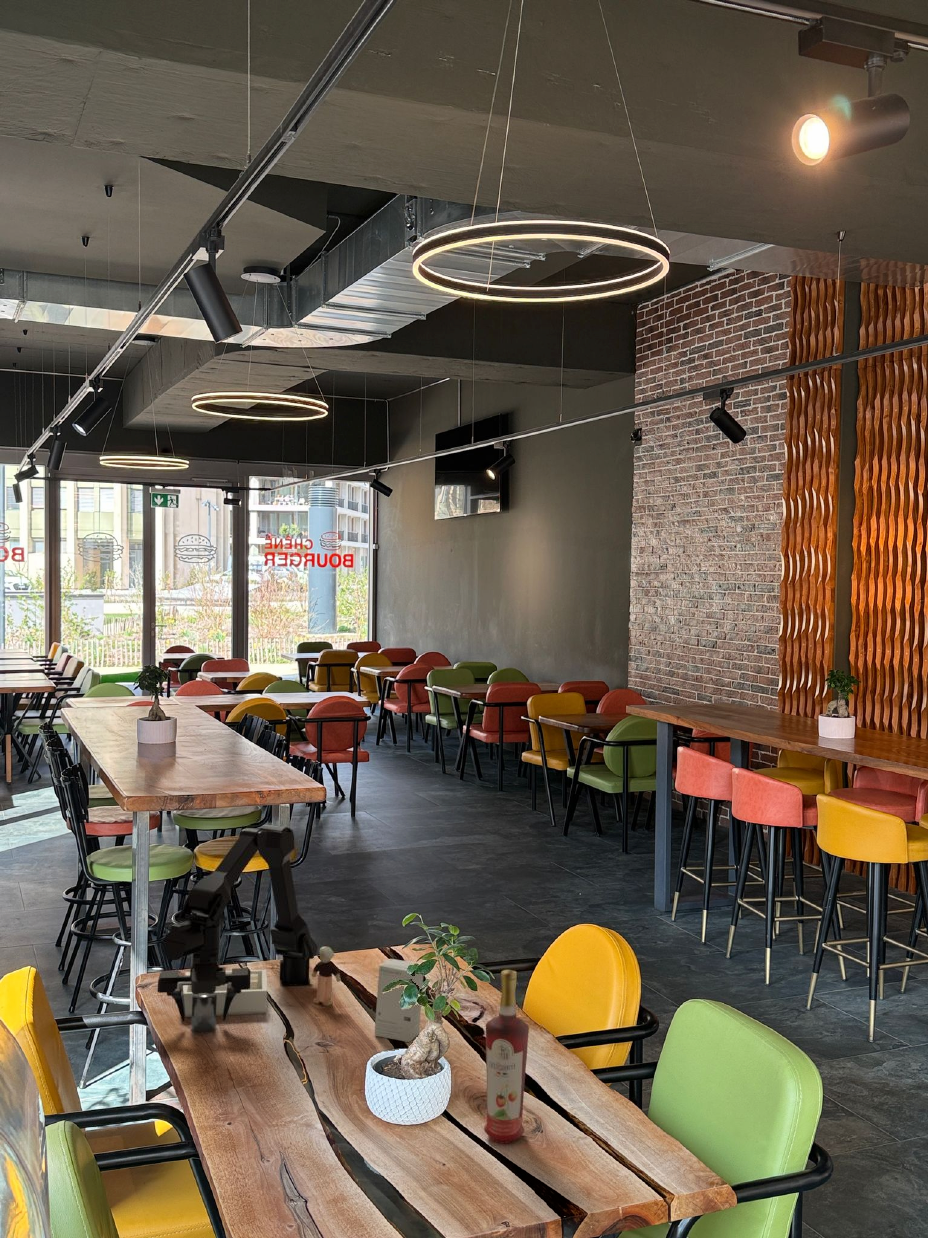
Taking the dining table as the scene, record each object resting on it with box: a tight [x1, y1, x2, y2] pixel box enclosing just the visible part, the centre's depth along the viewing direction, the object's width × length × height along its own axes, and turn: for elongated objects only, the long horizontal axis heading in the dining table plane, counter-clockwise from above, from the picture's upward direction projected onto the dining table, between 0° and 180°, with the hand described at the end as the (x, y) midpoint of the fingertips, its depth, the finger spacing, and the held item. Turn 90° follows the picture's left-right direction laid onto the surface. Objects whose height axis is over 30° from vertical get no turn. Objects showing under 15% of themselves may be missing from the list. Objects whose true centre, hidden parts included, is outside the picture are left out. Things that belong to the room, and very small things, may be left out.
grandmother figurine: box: [311, 946, 342, 1006], centre depth 245 cm, size 8×4×13 cm, turn 73°
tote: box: [183, 969, 268, 1018], centre depth 242 cm, size 18×14×5 cm
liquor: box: [483, 969, 530, 1144], centre depth 185 cm, size 7×7×28 cm
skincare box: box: [374, 958, 424, 1043], centre depth 228 cm, size 8×6×15 cm
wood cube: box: [248, 974, 258, 990], centre depth 243 cm, size 5×5×5 cm
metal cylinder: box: [190, 992, 217, 1034], centre depth 228 cm, size 5×5×7 cm
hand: (203, 1021), depth 228 cm, fingers open, 8 cm apart
